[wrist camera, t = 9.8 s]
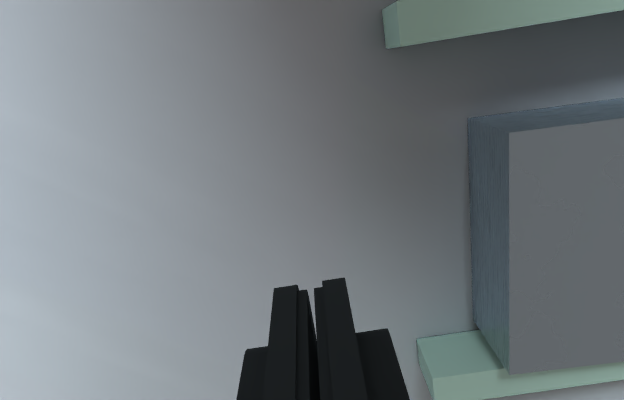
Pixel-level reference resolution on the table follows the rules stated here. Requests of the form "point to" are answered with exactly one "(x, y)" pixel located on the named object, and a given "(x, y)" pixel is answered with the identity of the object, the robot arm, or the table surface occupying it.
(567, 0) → the bay
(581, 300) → the gray rectangular block
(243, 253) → the table surface
